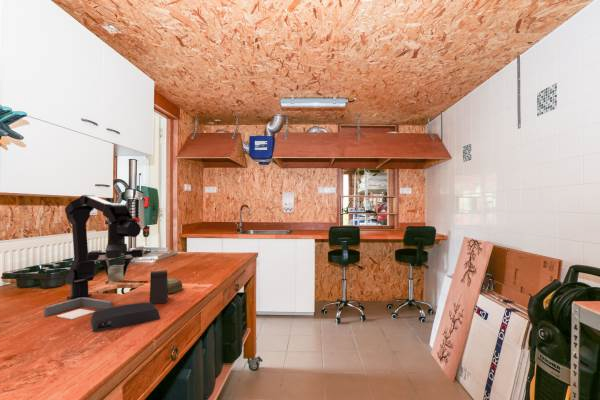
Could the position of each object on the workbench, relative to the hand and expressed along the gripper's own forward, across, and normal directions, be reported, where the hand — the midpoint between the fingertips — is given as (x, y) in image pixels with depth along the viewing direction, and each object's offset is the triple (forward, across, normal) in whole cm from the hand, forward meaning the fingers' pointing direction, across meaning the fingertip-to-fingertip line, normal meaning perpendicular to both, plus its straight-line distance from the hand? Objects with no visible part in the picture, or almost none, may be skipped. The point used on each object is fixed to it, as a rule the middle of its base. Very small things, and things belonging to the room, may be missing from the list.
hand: (116, 276), depth 125 cm
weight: (+11, +18, +14) cm, 25 cm away
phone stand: (+11, +15, -2) cm, 19 cm away
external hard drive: (+12, +6, -21) cm, 24 cm away
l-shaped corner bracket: (+11, -11, -6) cm, 16 cm away
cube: (+1, 0, 0) cm, 1 cm away
